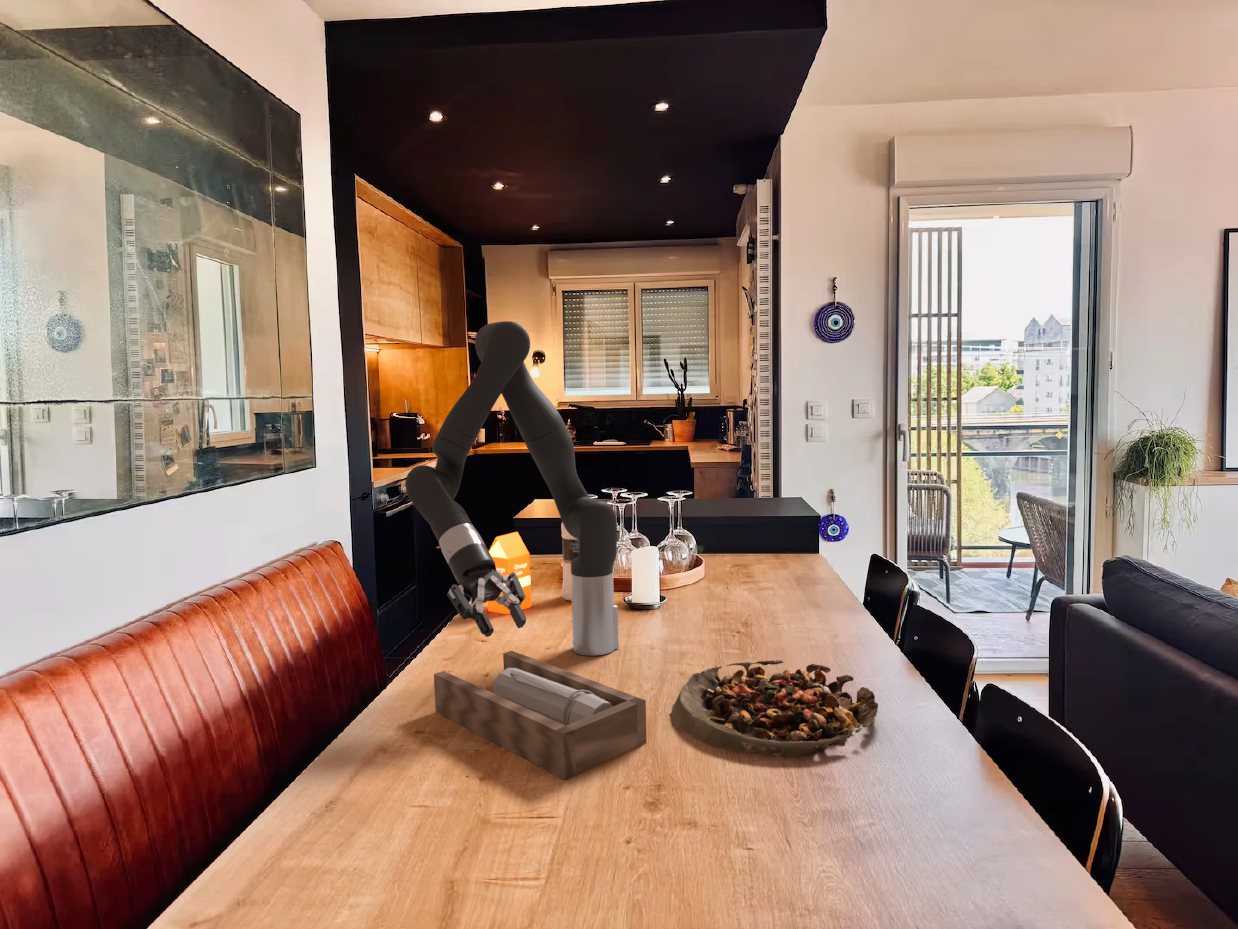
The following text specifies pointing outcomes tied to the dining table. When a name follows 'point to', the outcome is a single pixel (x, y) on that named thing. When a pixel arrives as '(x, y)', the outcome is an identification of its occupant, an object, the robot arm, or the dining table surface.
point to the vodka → (568, 561)
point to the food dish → (771, 710)
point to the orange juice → (511, 566)
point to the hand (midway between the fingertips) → (506, 629)
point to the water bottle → (547, 696)
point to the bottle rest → (545, 720)
